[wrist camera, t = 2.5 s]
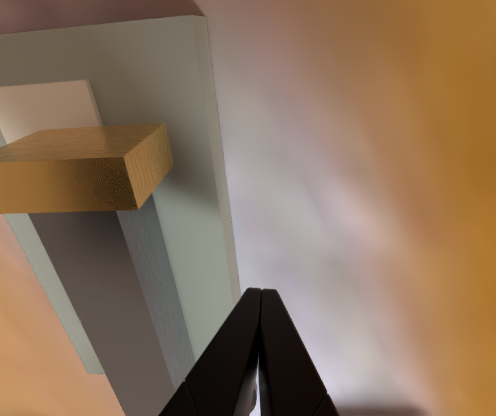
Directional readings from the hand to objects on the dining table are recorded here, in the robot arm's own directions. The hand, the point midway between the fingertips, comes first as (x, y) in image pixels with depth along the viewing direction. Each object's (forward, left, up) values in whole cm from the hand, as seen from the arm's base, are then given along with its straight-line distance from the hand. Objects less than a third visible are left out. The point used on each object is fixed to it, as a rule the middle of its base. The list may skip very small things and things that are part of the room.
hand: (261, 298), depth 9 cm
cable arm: (+6, -2, -1) cm, 6 cm away
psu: (+2, -5, -4) cm, 7 cm away
